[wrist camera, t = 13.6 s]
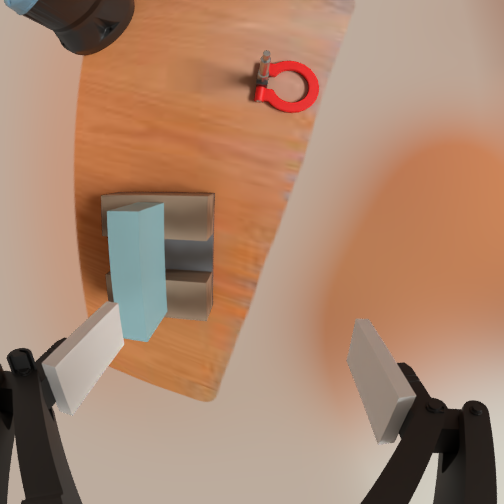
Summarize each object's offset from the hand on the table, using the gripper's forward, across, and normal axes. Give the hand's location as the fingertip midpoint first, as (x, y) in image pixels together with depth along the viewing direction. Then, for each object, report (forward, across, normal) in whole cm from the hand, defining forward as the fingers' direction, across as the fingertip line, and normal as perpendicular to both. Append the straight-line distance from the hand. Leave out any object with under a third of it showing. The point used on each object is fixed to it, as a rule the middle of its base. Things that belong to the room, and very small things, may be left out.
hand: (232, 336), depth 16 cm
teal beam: (+26, -14, -4) cm, 30 cm away
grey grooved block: (+32, -14, -4) cm, 35 cm away
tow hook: (+32, +4, +22) cm, 39 cm away
